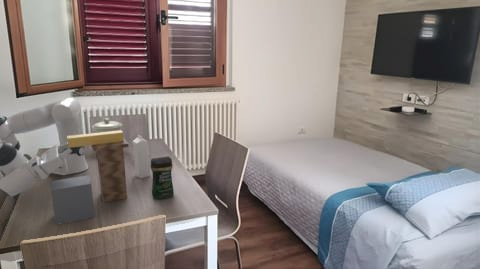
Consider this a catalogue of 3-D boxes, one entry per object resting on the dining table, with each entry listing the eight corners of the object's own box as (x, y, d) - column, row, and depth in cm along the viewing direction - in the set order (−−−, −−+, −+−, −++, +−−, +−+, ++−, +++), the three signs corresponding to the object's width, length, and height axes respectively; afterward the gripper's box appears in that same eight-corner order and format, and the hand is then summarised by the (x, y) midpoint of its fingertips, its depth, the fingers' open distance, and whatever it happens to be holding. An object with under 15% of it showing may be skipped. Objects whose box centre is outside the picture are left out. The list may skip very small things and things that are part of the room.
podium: (56, 224, 134) (50, 190, 130) (55, 213, 142) (50, 181, 139) (94, 216, 140) (91, 183, 136) (92, 206, 149) (88, 175, 145)
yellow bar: (68, 147, 143) (67, 138, 142) (68, 145, 147) (67, 136, 146) (123, 141, 153) (123, 132, 152) (122, 138, 157) (121, 130, 156)
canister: (99, 146, 234) (95, 115, 229) (126, 145, 236) (124, 115, 231) (90, 154, 217) (87, 121, 211) (120, 153, 219) (117, 121, 213)
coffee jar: (155, 201, 154) (152, 162, 149) (150, 194, 161) (148, 156, 156) (176, 197, 159) (174, 158, 154) (170, 190, 165) (168, 153, 160)
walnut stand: (99, 205, 150) (93, 147, 143) (95, 193, 162) (90, 139, 155) (132, 198, 157) (128, 143, 150) (126, 187, 168) (122, 135, 162)
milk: (139, 178, 180) (136, 137, 174) (135, 175, 184) (131, 135, 178) (150, 175, 183) (147, 135, 177) (146, 172, 188) (143, 133, 182)
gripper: (45, 164, 152) (73, 145, 155) (44, 180, 134) (76, 159, 138) (35, 153, 149) (64, 134, 152) (33, 168, 131) (66, 147, 135)
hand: (70, 146), depth 145 cm, fingers open, 8 cm apart
